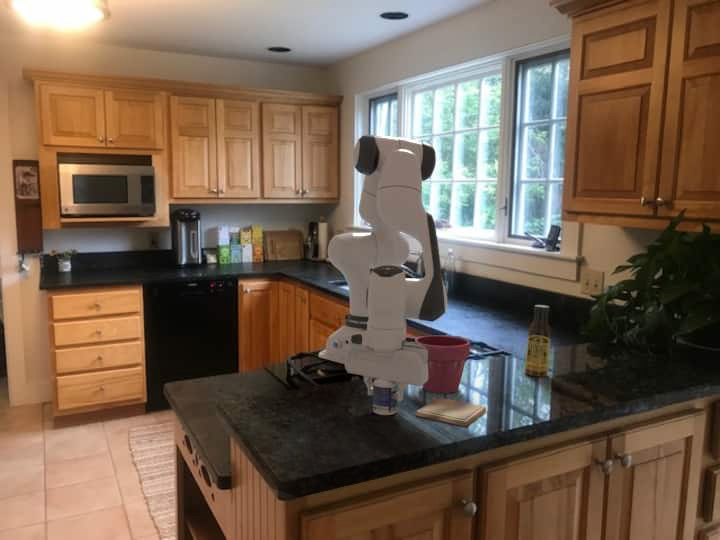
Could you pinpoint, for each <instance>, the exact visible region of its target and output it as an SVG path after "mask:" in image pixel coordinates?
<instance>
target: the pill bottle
mask: <svg viewBox="0 0 720 540" xmlns="http://www.w3.org/2000/svg"><path fill="white" fill-rule="evenodd" d="M378 377H379V379H378V378H374V381H373V396H372V410H373V413H375V414H377V415H378V416H379V415H380V416H391V415H394V414H395V413H396V412H397V407H398V406H397V404H398V401H394V393H396V392H397V391H398V382H394V381H388V380H384V379H385V373H384V372H378Z"/></svg>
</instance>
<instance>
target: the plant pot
mask: <svg viewBox="0 0 720 540" xmlns="http://www.w3.org/2000/svg"><path fill="white" fill-rule="evenodd" d="M414 343H420V344H422V346H424V347H425V348H426V349H427V350H428V360H427V364H428V381H427V382H426V383H425V384H423V385H422V388H423V390H425V391H427V392H430V393H434V394H452V393H451V392H454V393H456V392H458V391H459V387H460V386H461V384H460V383H461V381H462V376H463V373H464V368H465V364H466V360H467V358H469V357H470V354H471V353H470V352H471V351H470V349H471V342H470V341H469V340H468V339H466V338H462V337H459V336H458V337H457V336H452V335H451V336H449V335H437V334H434V335H432V334H431V335H422V336H417V337H416V338H415V339H414ZM422 349H424V348H422ZM457 390H458V391H457Z"/></svg>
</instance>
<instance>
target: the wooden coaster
mask: <svg viewBox="0 0 720 540" xmlns="http://www.w3.org/2000/svg"><path fill="white" fill-rule="evenodd" d="M485 412H487V406H484V405H479V404H475V403H474V404H473V403H468V402H464V401H463V402H462V401H458V400H454V399H448V398H444V397H443V398H442V397H437V398H436V399H434V400H432V401H431V402H429V403H427V404H426V405H424V406H422V407H421V408H419V409H417V410H416V412H415V415H416V416H418V417H422V418H426V419H430V420H435V421H439V422H445V423H449V424H452V425H458V426H462V427H467V426H469V425H470V424H471V423H473V422H474V421H475V420H476V419H478V418H479V417H481V416H482V415H483V414H485Z"/></svg>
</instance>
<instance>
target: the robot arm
mask: <svg viewBox="0 0 720 540" xmlns="http://www.w3.org/2000/svg"><path fill="white" fill-rule="evenodd" d="M436 155H437V154H436V150H435V148H434V146H433V145H432V144H429V143H427V142H424V141H420V142H419V141H417V140H413V139H410V138H405V137H400V136H397V137H394V136H385V135H384V136H379V135H378V136H377V135H376V136H375V134H366V135H365V134H364V135H362V136H361V137H359V138H358V139H357V142H356V143H355V145H354V148H353V151H352V160H353V166H354V168H355V170H356V171H357V173H360V174H362V175H365V176H364V180H363V184H362V185H363V186H362V189H361V194H360V201H359V206H358V213H359V216H360V218H361V219H362V220H363V221H364V222H366V223H367V224H368V225H371V230H370V231H368V232H364V231H363V232H361V231H360V232H357V231H356V232H353V231H352V232H350V231H349V232H344V233H340V234H336V235H334V236H333V237H332V238H331V239H330V241H329V243H328V246H327V256H328V259H329V261H330V263H331V264H332V265H333V266H334V267H335V268H336V269H338V270H339V272H341V274H342V275H343V277H344V278H345V281H346V283H347V287H348V290H349V313H346V315H342V316H341V317H342V319H341V320H343V321H345V322H344V325H342V326H341V327H339V328H338V329H337V330H336V331H334V332H333V333H332V334H331V335H330V336H328V337H327V341H326V344H325V345H326V346H325V349H323V350H321V351H320V352H318V358H319V359H324V360H327V361H328V360H329V361H331V362H334V363H335V362H336V363H339V364H343V365H344V368H345V371H346V372H347V373H348V374H353V375H357V376H358V375H359V376H362V377H363V381H364V384H365V386H366V388H367V395H368V396H372V397H373V385H374V381H372V380H373V379H376V378H378V379H379V377H378V372H384V373H385V379H384V380H388V381H394V382H397V388H398V390H397V392H396V393H394V401H397V402H398V403H400V402H402V401H403V398H404V392H406V389H407V388H408V387H409V386H410V385H411V386H416V387H421V386H423V384H425V383H426V382H427V381H428V364H427V360H428V350H427V349H426V348H425V347H424V346H422V344H420V343H415V342H413V341H407V321H406V319H413V320H419V321H425V322H431V323H432V322H434V321H437V320H438V319H440V318H441V317H442V316H443V315H444V314H445V313H446V310H447V307H448V294H447V290H446V286H445V283H444V280H443V272H442V264H441V255H440V250H439V249H440V248H439V242H438V241H439V240H438V236H437V229H436V223H435V220H434V217H433V215H432V214H431V213H429V212H427V211H426V208H425V207H424V205H423V201H422V200H423V199H422V193H423V182H425V181H427V180H428V179H429V178H431V177H432V175H433V173H434V172H435V168H436V165H437V164H436V163H437V157H436ZM403 234H404V235H403ZM405 235H407V236H410V237H412V238H413V239H415V240H416V241H417V242H418V243H419V244H420V245H421V250H422V256H423V265H424V273H425V275H424V277H420V278H413V277H411V278H409V277H406V272H405V270H404V268H402V267H400V266H403V265H404V264H405V263H407V260H408V259H409V256H410V244H409V241H408V239H406V237H405ZM371 269H372V270H371ZM422 348H424V349H422Z"/></svg>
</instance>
